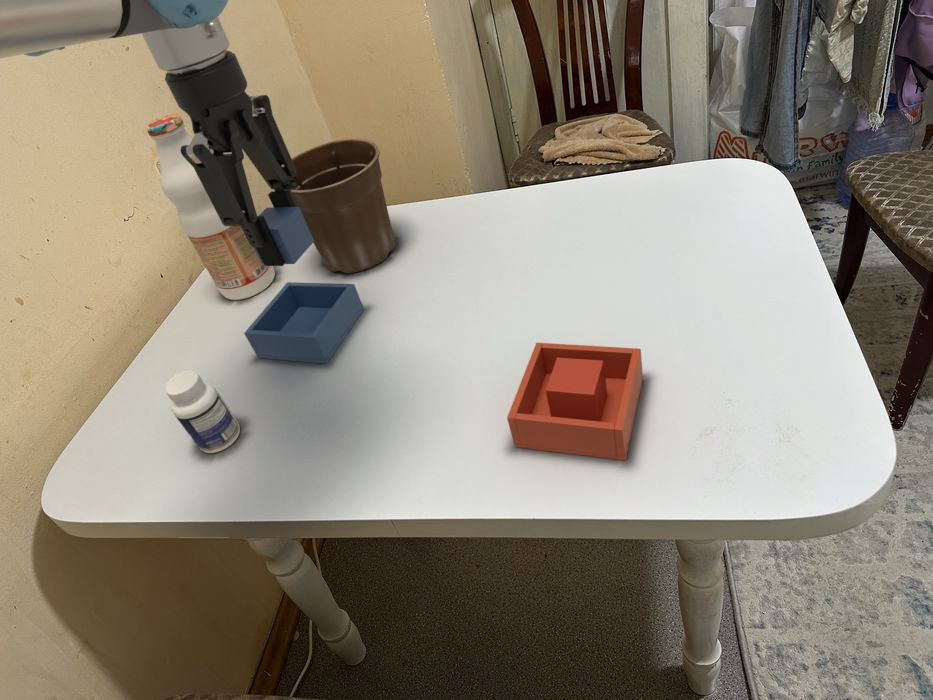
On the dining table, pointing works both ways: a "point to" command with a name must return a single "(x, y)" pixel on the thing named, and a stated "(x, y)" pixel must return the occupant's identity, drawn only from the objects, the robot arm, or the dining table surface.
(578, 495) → the dining table surface
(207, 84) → the robot arm
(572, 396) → the red block
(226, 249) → the fruit juice
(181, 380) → the pill bottle
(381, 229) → the plant pot
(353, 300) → the blue bin
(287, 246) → the blue block
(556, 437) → the red bin
